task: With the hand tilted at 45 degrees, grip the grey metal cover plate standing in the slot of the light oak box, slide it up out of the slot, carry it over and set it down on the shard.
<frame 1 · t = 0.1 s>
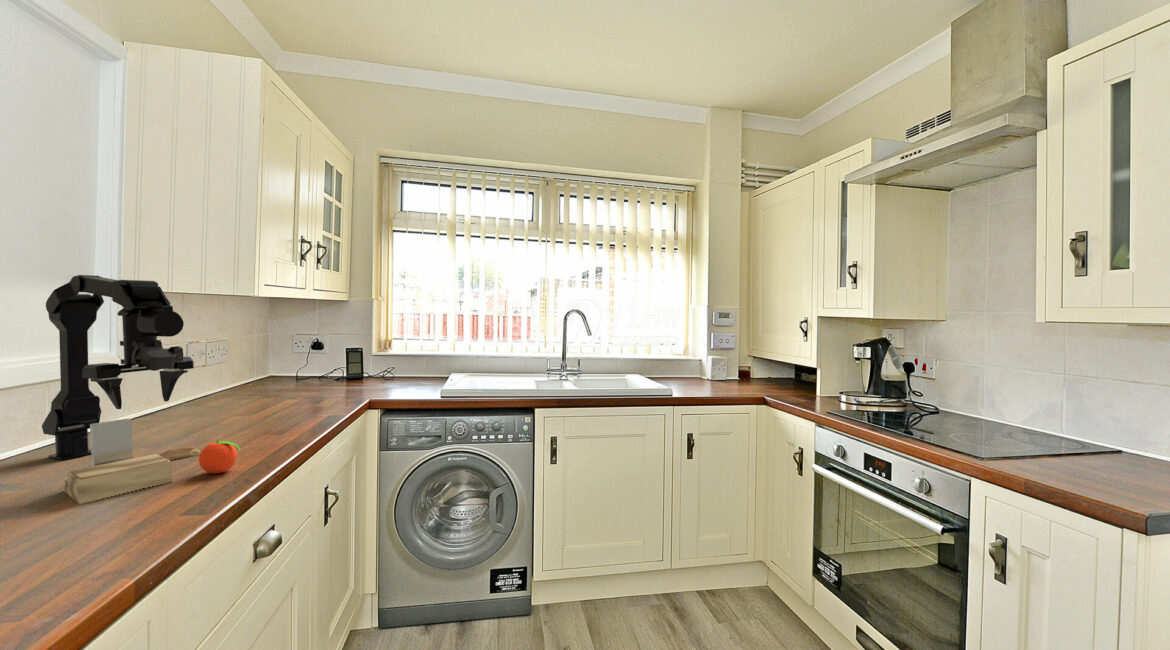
hand: (143, 405, 114), 15 cm above the countertop, tool pointing down, fingers open, 9 cm apart
clementine: (221, 473, 112), on the countertop
cover plate: (113, 483, 106), resting in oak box
shard: (178, 460, 123), on the countertop
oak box: (115, 484, 105), on the countertop
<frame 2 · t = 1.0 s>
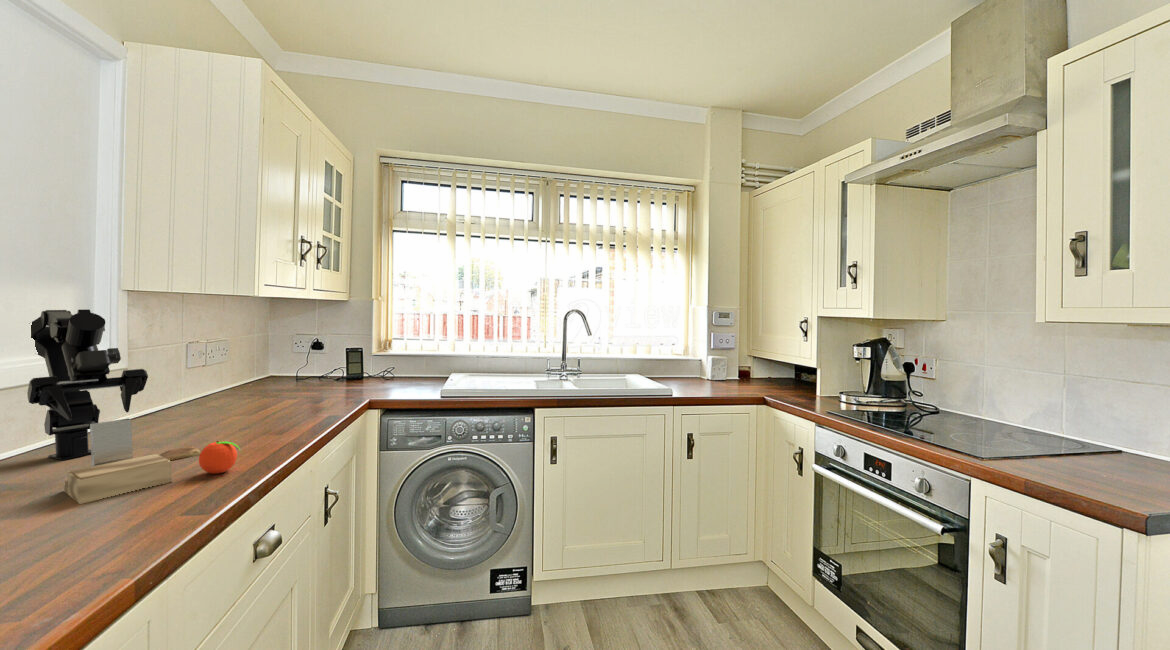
hand: (100, 415, 109), 13 cm above the countertop, tool tilted 45°, fingers open, 9 cm apart
nothing on the countertop moved.
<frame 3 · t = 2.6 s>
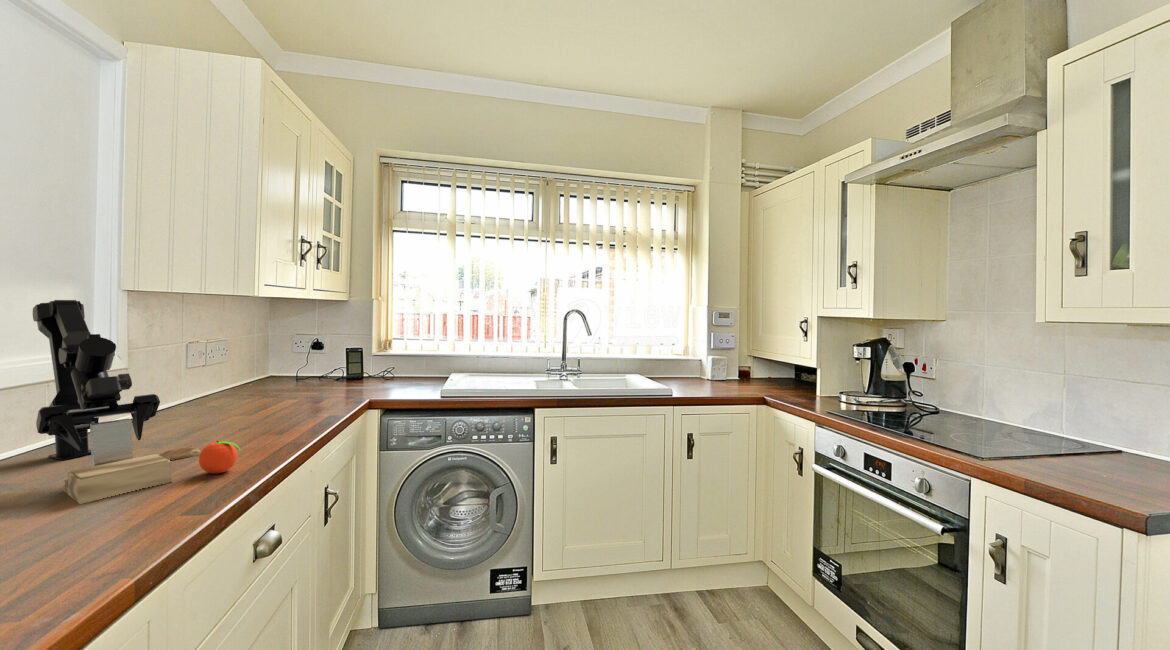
hand: (111, 444, 105), 8 cm above the countertop, tool tilted 45°, fingers open, 9 cm apart
nothing on the countertop moved.
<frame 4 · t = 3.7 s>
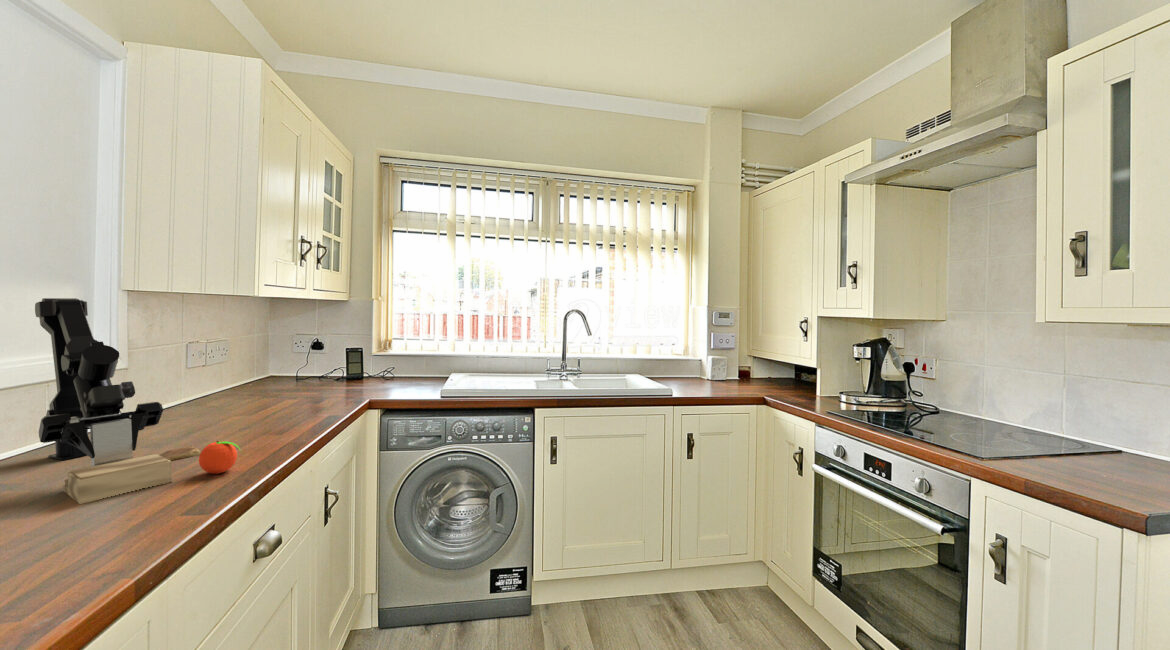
hand: (114, 453, 104), 7 cm above the countertop, tool tilted 45°, fingers closed on cover plate, 6 cm apart
cover plate: (113, 483, 106), resting in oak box, touching gripper
everything else where it was.
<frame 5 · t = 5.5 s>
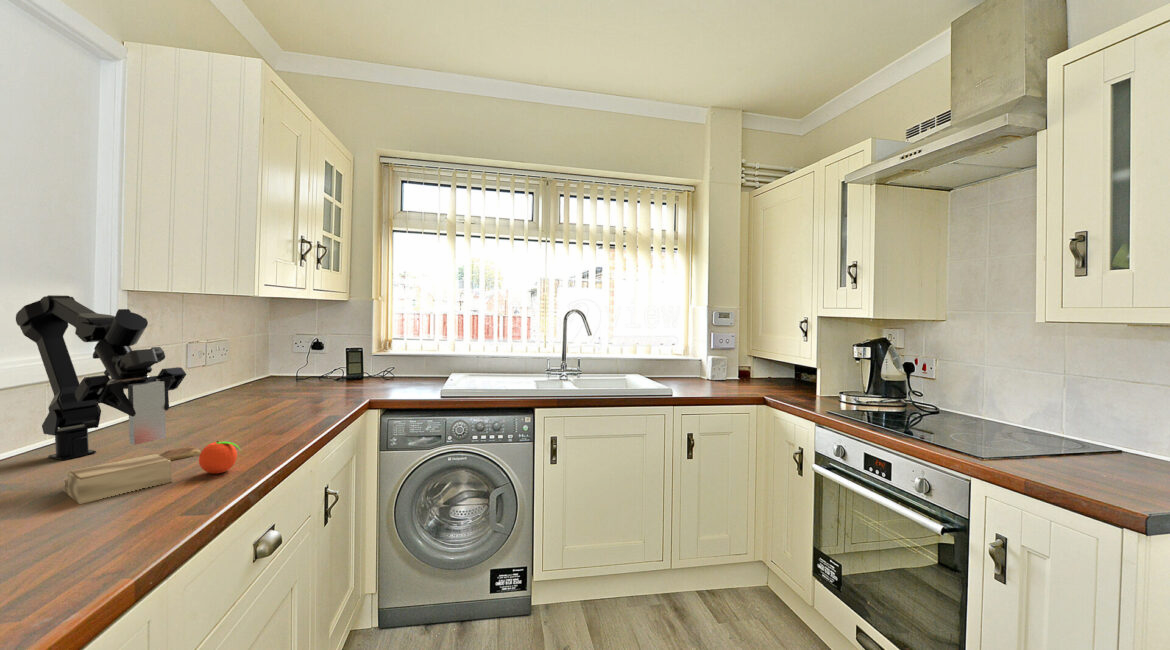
hand: (151, 412, 112), 13 cm above the countertop, tool tilted 45°, fingers closed on cover plate, 6 cm apart
cover plate: (148, 440, 113), point 7 cm above the countertop, touching gripper
everything else where it was.
when the fingers open (9 cm above the countertop, at t = 7.3 s): cover plate drops 2 cm, resting on shard.
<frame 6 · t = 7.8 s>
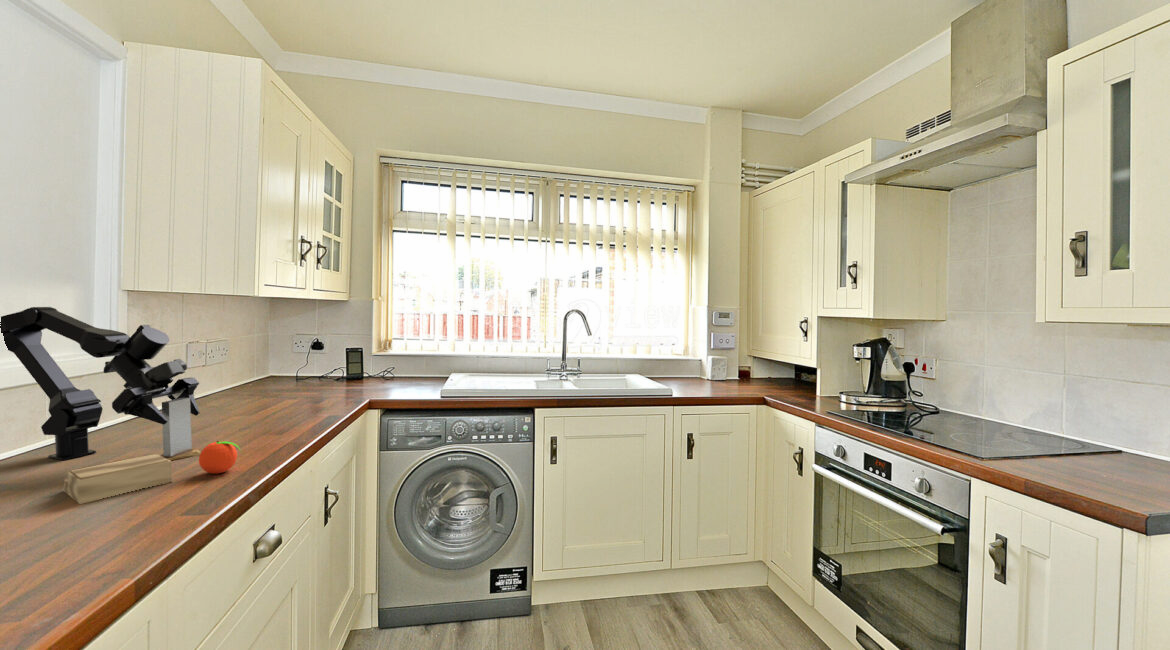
hand: (182, 418, 123), 10 cm above the countertop, tool tilted 45°, fingers open, 9 cm apart
cover plate: (177, 452, 123), point 1 cm above the countertop, touching shard
shard: (179, 461, 123), on the countertop, touching cover plate
everything else where it was.
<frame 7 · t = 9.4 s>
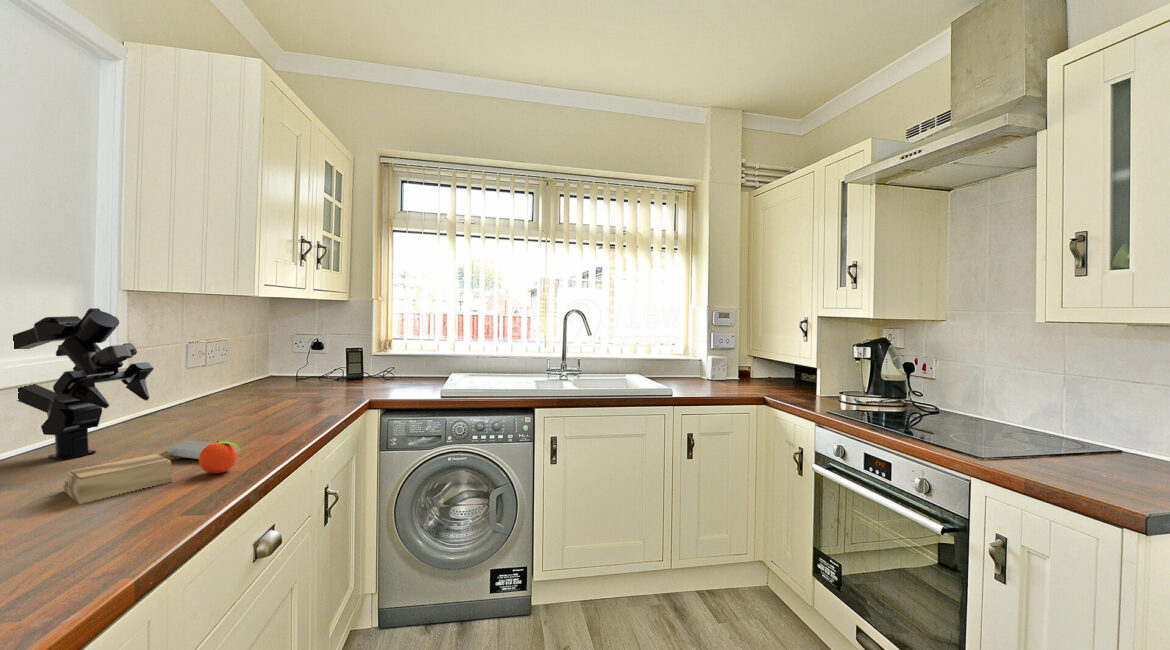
hand: (128, 403, 121), 14 cm above the countertop, tool tilted 45°, fingers open, 9 cm apart
cover plate: (179, 447, 123), point 2 cm above the countertop, tilted 97°, touching shard
everything else where it was.
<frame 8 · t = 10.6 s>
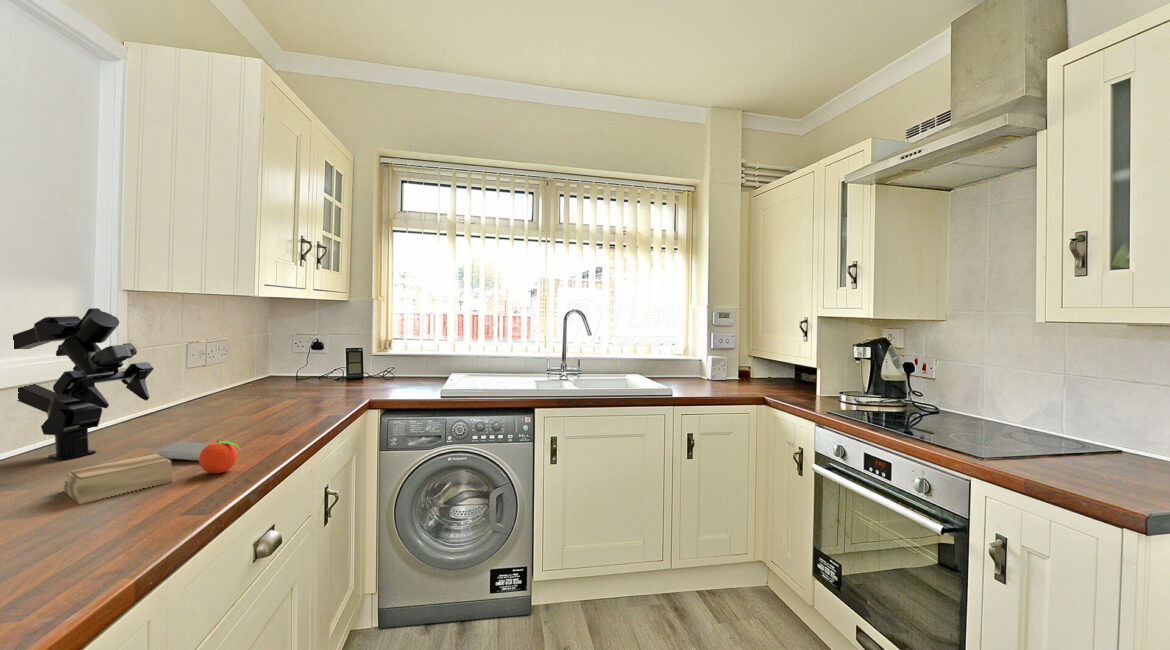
hand: (128, 403, 121), 14 cm above the countertop, tool tilted 45°, fingers open, 9 cm apart
cover plate: (168, 449, 122), point 2 cm above the countertop, tilted 96°, touching shard
everything else where it was.
at the end: cover plate 1.6 cm from the shard (horizontally); cover plate touching shard, countertop; the gripper is holding nothing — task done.
